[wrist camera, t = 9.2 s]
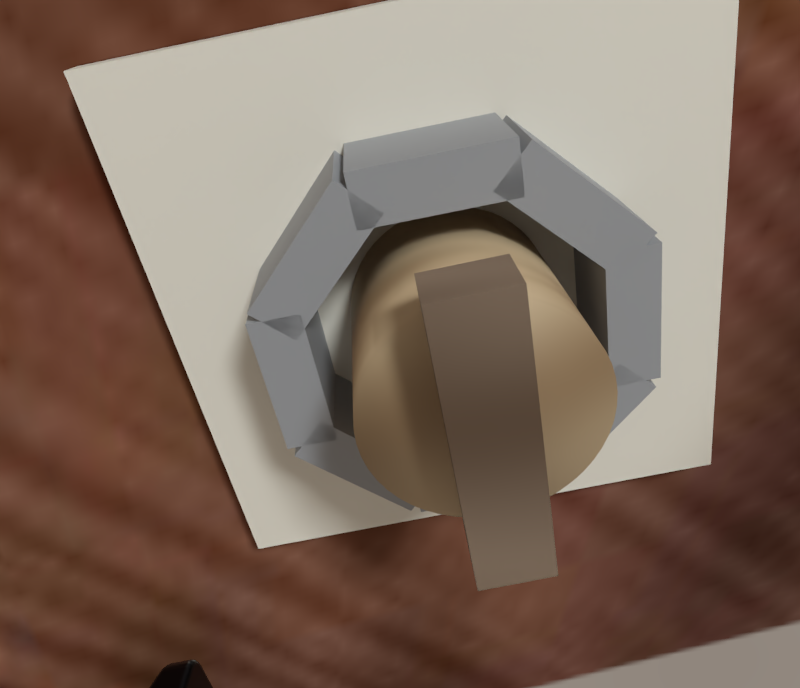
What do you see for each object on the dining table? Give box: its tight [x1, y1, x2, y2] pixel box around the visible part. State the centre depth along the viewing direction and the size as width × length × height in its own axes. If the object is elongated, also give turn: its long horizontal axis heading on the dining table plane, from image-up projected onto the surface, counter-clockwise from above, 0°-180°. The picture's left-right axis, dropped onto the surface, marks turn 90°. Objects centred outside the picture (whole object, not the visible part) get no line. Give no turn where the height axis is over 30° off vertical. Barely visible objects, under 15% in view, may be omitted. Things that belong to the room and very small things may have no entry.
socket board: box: [64, 0, 739, 549], centre depth 16 cm, size 14×14×3 cm
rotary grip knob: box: [351, 208, 618, 591], centre depth 14 cm, size 6×5×6 cm
